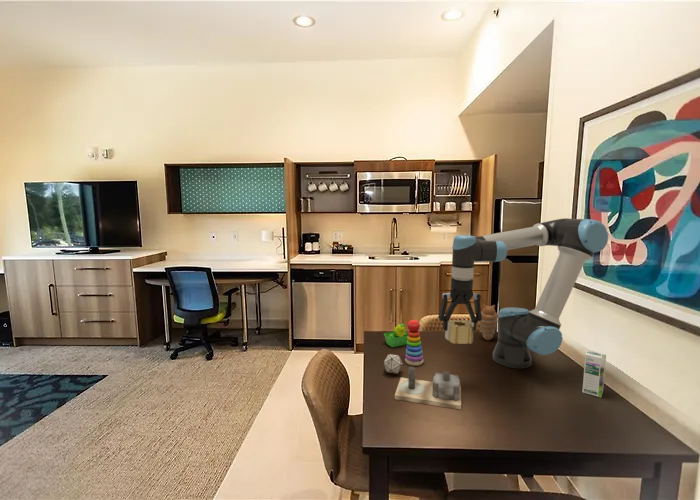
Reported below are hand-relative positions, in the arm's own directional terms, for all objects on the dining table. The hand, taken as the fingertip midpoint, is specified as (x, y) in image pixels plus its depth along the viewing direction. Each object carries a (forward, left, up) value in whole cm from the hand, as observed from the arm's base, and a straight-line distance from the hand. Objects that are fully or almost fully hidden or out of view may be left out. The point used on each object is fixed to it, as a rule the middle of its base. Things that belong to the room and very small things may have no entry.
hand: (458, 338), depth 126 cm
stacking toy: (+18, -14, -18) cm, 29 cm away
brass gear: (0, 0, 0) cm, 0 cm away
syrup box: (-46, -8, -18) cm, 50 cm away
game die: (+25, -2, -18) cm, 31 cm away
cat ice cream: (-14, -49, -18) cm, 54 cm away
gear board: (+10, +10, -18) cm, 23 cm away
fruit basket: (+28, -31, -18) cm, 46 cm away
